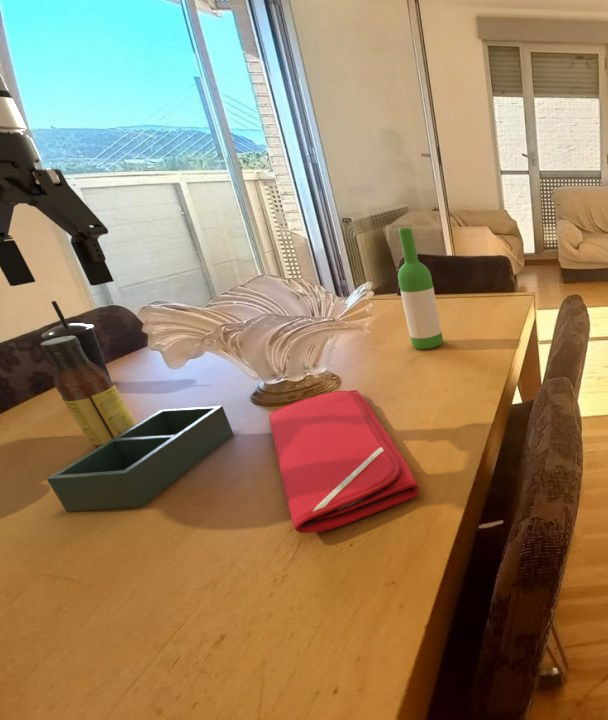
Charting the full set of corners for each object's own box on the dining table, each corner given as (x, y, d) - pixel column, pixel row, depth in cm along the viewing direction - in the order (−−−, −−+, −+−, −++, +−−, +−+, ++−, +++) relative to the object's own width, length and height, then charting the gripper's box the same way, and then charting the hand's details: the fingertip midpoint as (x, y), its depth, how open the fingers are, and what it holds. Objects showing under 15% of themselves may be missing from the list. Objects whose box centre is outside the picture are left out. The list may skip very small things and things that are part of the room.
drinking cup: (102, 379, 110) (60, 296, 102) (130, 380, 109) (90, 296, 101) (62, 394, 103) (14, 306, 95) (92, 396, 102) (45, 306, 94)
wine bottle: (442, 338, 130) (421, 225, 118) (444, 347, 123) (423, 229, 111) (412, 343, 127) (387, 228, 115) (413, 352, 120) (387, 232, 109)
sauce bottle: (142, 430, 88) (92, 329, 80) (143, 442, 84) (90, 337, 76) (92, 444, 84) (34, 339, 76) (90, 458, 80) (29, 349, 72)
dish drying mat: (361, 396, 98) (357, 380, 97) (424, 494, 68) (419, 473, 67) (270, 422, 89) (264, 404, 88) (297, 547, 60) (288, 524, 58)
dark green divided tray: (66, 512, 67) (45, 478, 65) (174, 437, 85) (161, 409, 83) (142, 506, 68) (125, 473, 66) (233, 433, 86) (222, 405, 83)
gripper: (99, 131, 68) (159, 277, 76) (-55, 136, 70) (20, 278, 78) (36, 128, 61) (110, 289, 69) (-133, 133, 63) (-42, 290, 71)
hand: (62, 283), depth 74 cm, fingers open, 13 cm apart
